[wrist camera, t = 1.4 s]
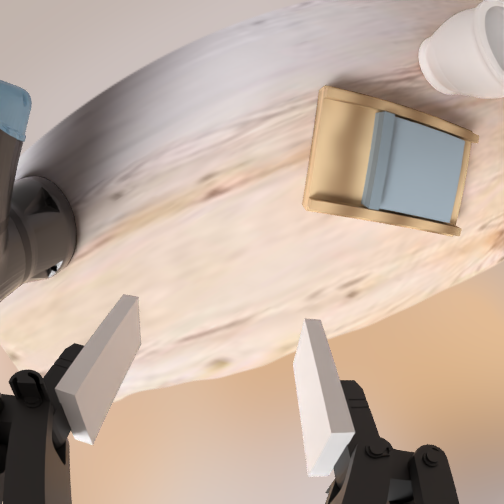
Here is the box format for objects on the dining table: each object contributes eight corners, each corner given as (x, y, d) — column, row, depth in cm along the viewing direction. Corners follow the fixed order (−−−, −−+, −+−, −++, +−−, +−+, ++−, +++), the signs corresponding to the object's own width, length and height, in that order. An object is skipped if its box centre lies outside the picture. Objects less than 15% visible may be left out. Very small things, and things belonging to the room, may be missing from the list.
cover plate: (360, 203, 34) (368, 208, 31) (375, 112, 30) (384, 111, 28) (444, 220, 34) (455, 226, 31) (459, 140, 31) (472, 141, 28)
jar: (409, 21, 29) (470, -18, 14) (469, 44, 29) (537, 24, 14) (410, 92, 32) (482, 76, 18) (471, 110, 32) (546, 110, 18)
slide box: (302, 204, 37) (308, 213, 33) (319, 90, 33) (328, 82, 28) (439, 229, 38) (458, 240, 33) (457, 130, 33) (479, 131, 29)
